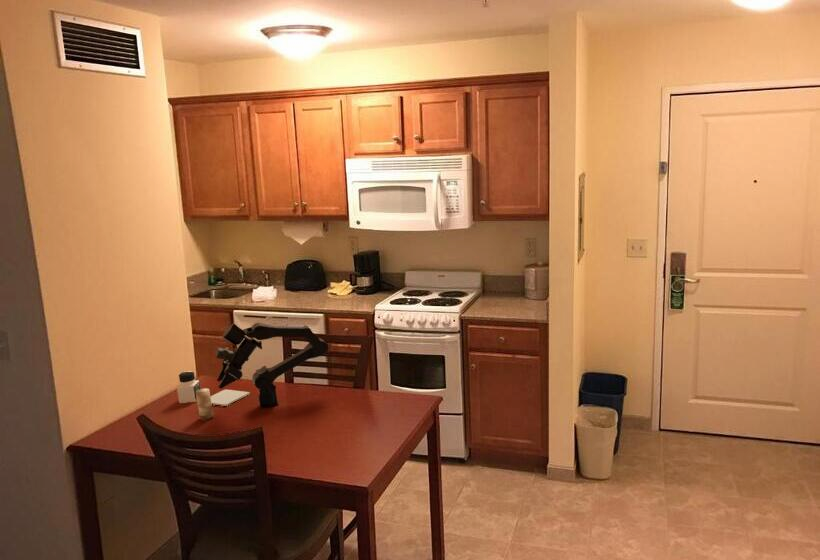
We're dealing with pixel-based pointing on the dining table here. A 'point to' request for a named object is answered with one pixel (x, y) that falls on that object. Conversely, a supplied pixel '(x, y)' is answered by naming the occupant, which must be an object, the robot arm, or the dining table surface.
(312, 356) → the robot arm
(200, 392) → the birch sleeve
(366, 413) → the dining table surface
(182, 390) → the medicine bottle
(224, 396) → the white square tile
